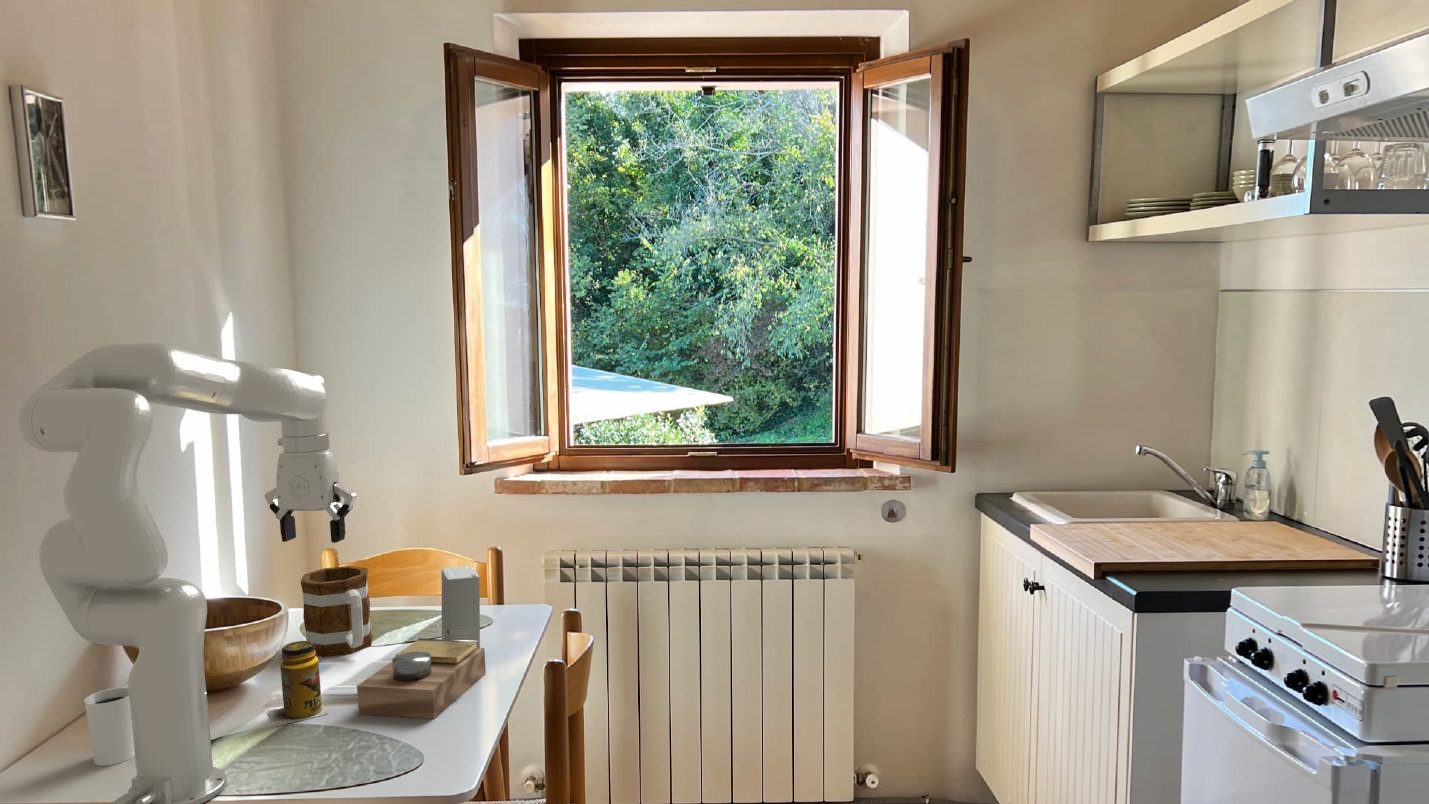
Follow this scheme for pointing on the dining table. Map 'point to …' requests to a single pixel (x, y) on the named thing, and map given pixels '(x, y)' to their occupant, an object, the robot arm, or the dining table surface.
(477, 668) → the block
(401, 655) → the steel pin
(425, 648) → the brass keeper
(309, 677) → the condiment
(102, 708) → the white cup
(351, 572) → the mug
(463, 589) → the skincare box
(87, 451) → the robot arm
